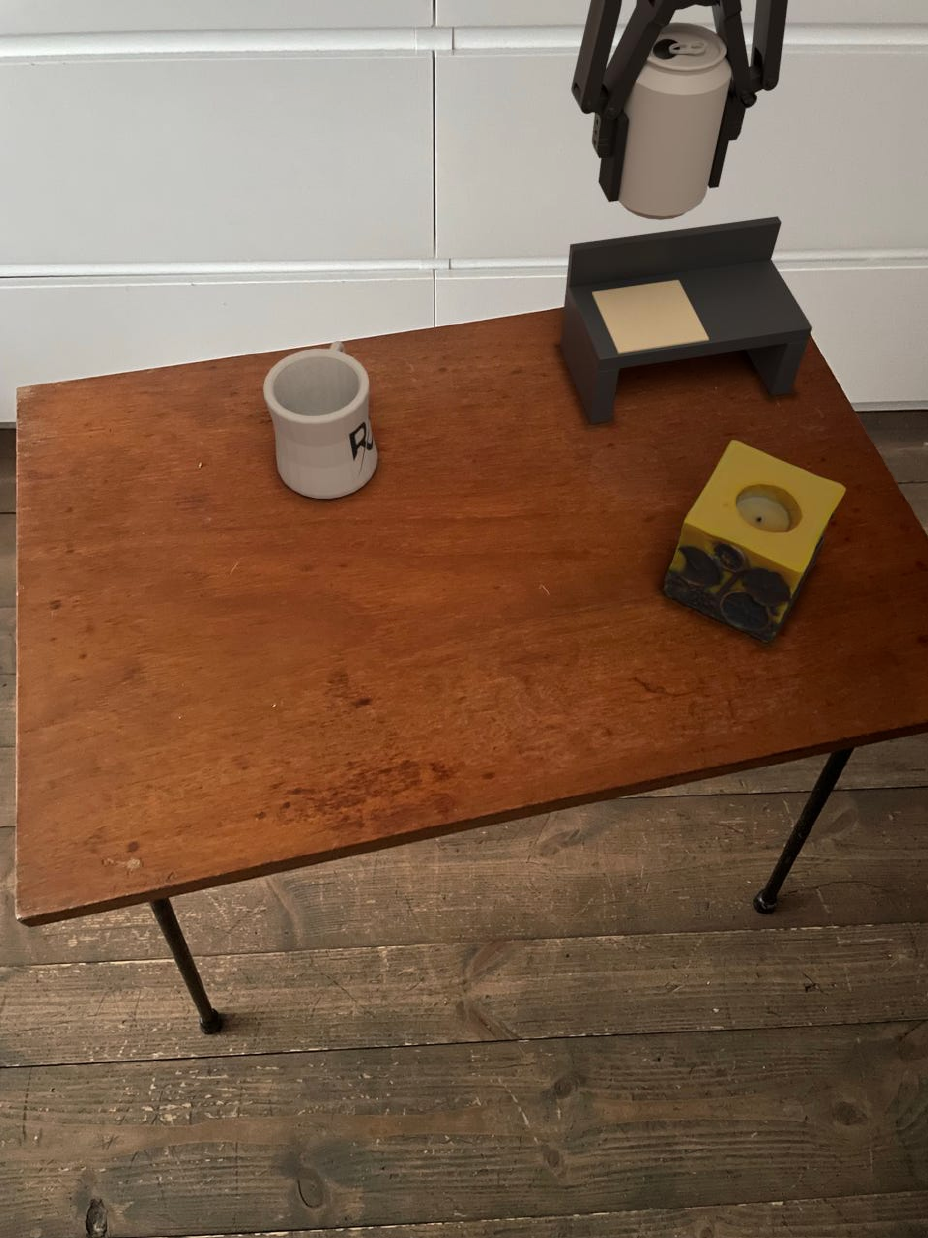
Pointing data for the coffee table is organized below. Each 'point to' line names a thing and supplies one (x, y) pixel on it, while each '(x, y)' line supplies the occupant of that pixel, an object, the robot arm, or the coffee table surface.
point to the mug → (321, 422)
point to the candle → (751, 540)
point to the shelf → (679, 306)
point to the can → (674, 122)
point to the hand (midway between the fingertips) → (658, 183)
